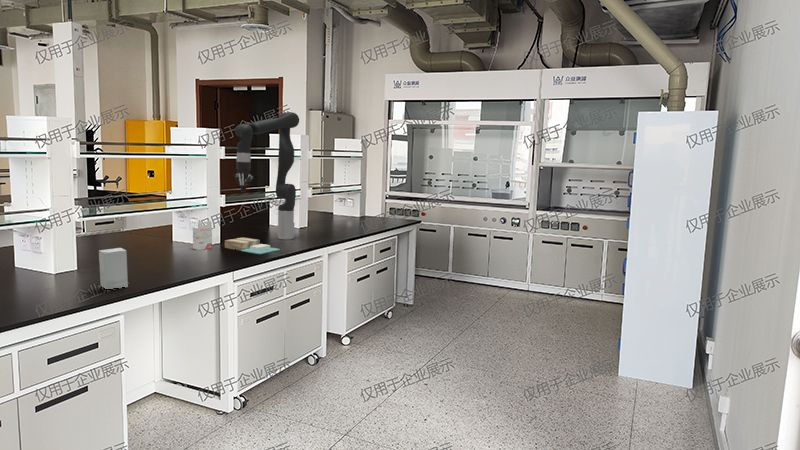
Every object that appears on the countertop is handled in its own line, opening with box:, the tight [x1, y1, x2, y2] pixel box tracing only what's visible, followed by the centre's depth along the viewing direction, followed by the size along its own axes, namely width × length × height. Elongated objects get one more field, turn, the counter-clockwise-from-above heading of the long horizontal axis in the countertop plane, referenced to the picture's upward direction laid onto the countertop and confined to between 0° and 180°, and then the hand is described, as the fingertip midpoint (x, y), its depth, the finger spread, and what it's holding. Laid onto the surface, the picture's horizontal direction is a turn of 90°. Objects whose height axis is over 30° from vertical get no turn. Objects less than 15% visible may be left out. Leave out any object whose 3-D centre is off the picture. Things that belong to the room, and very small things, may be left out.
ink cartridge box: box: [192, 220, 213, 251], centre depth 294 cm, size 9×5×15 cm, turn 143°
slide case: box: [250, 243, 271, 251], centre depth 297 cm, size 9×6×2 cm, turn 153°
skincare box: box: [98, 247, 129, 290], centre depth 211 cm, size 8×6×15 cm
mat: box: [240, 246, 281, 255], centre depth 297 cm, size 16×13×1 cm
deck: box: [224, 236, 261, 251], centre depth 303 cm, size 14×12×4 cm
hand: (243, 192), depth 312 cm, fingers closed
